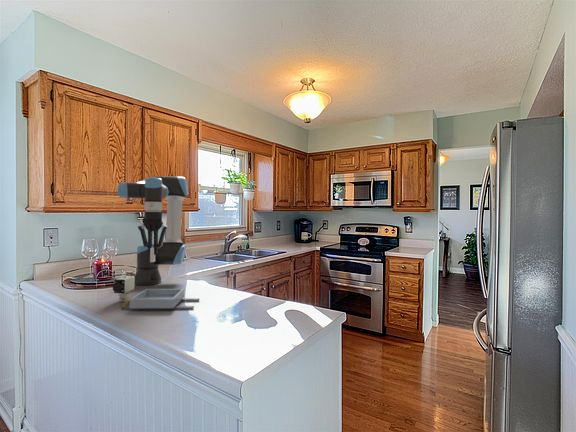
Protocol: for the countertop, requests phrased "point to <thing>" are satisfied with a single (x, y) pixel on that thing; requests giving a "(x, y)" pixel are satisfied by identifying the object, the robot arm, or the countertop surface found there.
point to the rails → (127, 307)
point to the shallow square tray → (157, 298)
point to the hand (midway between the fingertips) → (152, 261)
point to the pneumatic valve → (124, 286)
